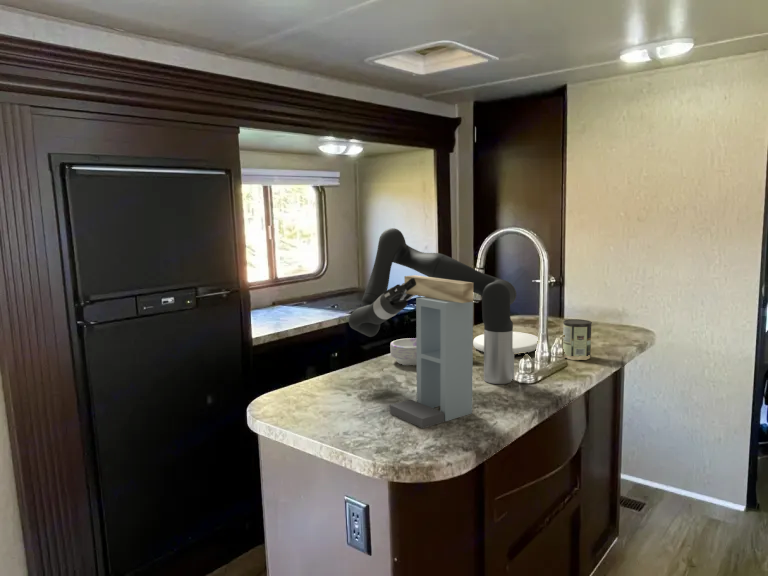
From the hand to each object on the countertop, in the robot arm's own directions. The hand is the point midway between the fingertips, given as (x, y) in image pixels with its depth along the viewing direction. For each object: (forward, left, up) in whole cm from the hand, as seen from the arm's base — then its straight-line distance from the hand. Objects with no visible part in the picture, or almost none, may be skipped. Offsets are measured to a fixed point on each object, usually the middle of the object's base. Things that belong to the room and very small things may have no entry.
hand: (420, 280), depth 161 cm
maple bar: (0, +7, -4) cm, 8 cm away
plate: (-70, -29, -37) cm, 84 cm away
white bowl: (-26, -37, -36) cm, 58 cm away
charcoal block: (+9, +9, -36) cm, 38 cm away
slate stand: (0, +10, -36) cm, 37 cm away
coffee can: (-80, -3, -36) cm, 88 cm away
